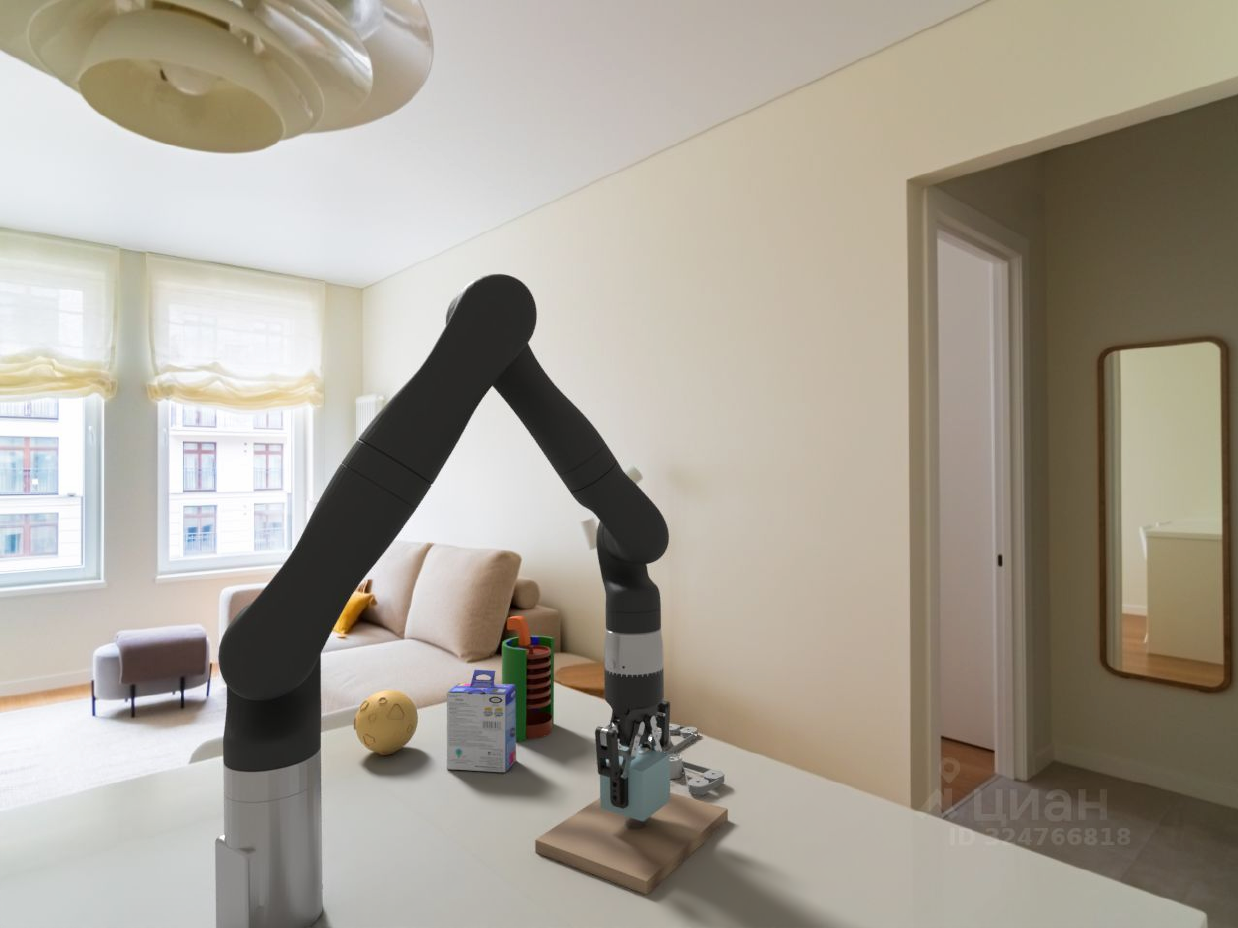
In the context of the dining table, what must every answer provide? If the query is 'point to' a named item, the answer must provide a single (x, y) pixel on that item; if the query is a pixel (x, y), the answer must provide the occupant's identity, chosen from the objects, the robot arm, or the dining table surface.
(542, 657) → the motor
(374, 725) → the stress ball
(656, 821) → the mounting plate
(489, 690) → the ink cartridge box
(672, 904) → the dining table surface
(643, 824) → the shaft
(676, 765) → the pulley system
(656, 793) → the mini blue cabinet
